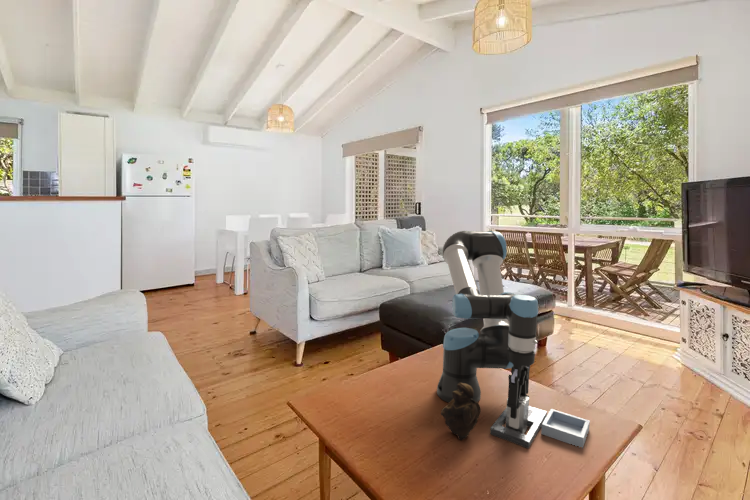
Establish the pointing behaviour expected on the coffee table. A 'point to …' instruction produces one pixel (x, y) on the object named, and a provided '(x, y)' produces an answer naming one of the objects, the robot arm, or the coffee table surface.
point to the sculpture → (461, 411)
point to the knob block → (522, 417)
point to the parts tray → (565, 427)
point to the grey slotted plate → (521, 439)
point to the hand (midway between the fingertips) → (516, 422)
